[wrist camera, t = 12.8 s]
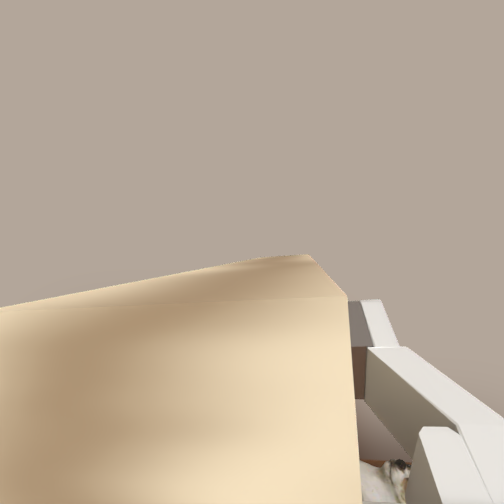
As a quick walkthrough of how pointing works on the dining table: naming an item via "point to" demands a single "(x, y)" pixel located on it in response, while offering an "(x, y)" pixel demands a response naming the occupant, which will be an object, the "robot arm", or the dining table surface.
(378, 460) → the dining table surface
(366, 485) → the ceramic sculpture
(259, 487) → the beech bar
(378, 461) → the dining table surface
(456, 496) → the robot arm
